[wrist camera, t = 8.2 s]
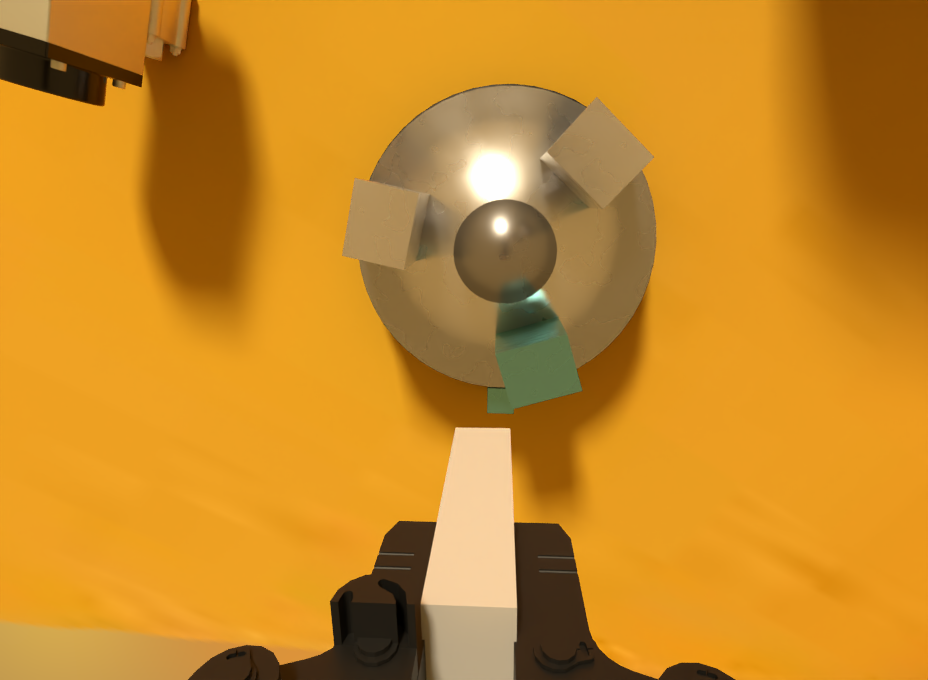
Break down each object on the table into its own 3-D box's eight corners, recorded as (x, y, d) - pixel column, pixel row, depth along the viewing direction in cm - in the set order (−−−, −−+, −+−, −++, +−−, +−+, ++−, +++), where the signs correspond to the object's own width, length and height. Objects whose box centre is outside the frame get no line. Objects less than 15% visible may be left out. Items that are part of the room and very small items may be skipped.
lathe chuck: (326, 148, 30) (285, 135, 24) (609, 50, 28) (639, 10, 22) (416, 404, 33) (399, 448, 27) (672, 336, 31) (711, 367, 25)
